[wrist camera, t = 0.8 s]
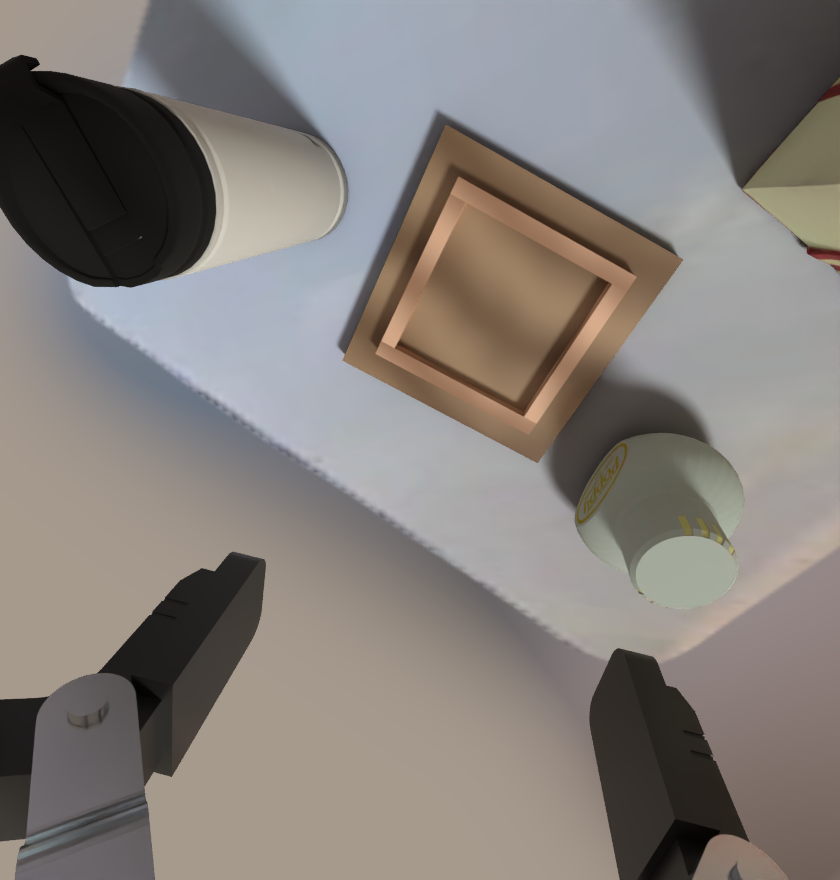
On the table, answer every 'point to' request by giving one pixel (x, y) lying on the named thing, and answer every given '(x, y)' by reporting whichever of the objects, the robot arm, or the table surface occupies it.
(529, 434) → the tan square plate
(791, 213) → the gift box
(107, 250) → the travel mug
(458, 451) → the table surface
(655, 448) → the air freshener
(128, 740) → the robot arm
